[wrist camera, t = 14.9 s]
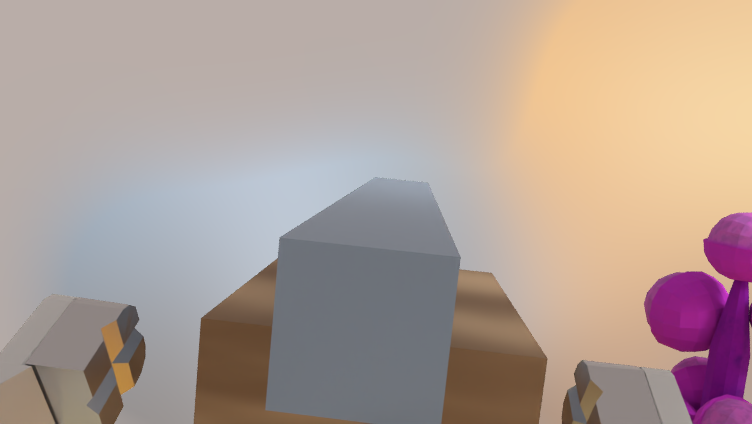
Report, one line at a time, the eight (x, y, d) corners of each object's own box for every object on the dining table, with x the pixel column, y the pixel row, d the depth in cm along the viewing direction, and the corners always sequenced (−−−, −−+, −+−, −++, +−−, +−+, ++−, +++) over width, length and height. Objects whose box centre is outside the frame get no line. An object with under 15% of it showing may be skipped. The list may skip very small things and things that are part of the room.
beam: (440, 432, 12) (460, 257, 11) (265, 410, 12) (279, 237, 12) (422, 235, 40) (428, 182, 39) (369, 229, 40) (375, 177, 39)
